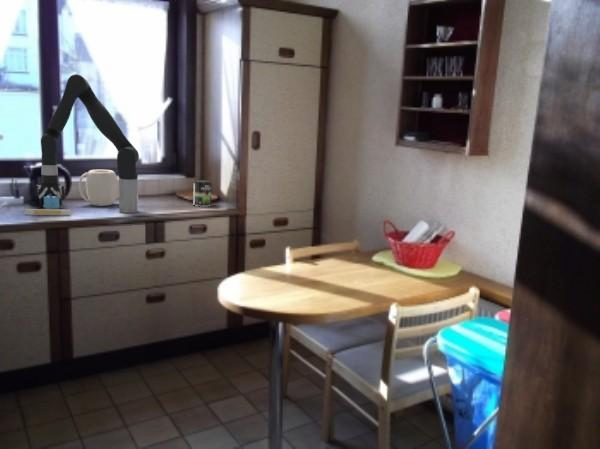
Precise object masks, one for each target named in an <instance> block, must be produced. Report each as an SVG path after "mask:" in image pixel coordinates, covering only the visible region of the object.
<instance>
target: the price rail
mask: <svg viewBox="0 0 600 449" xmlns="http://www.w3.org/2000/svg"><path fill="white" fill-rule="evenodd" d="M70 211H71V209H60V208H59V209H45V208H40V209H39V208H25V209H24V215H25V216H36V215H37V216H71V215H70Z"/></svg>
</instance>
